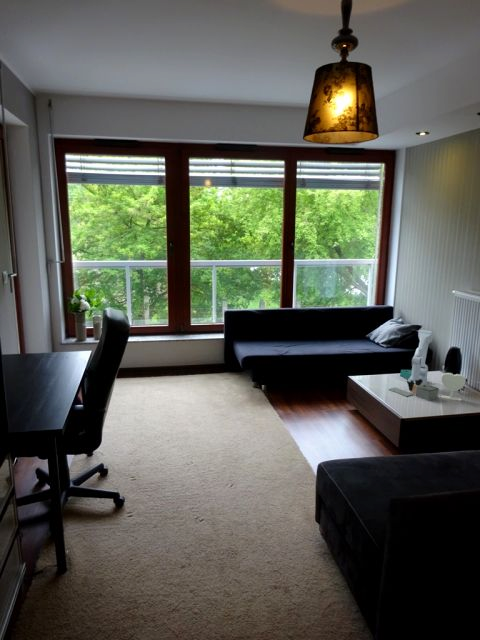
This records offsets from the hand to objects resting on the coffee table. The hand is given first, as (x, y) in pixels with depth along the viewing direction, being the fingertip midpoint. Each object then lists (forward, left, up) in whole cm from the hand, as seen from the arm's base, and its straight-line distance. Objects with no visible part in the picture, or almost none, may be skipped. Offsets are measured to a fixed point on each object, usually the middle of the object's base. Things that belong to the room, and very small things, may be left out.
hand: (413, 389), depth 336 cm
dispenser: (0, +11, -2) cm, 11 cm away
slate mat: (+9, -5, -2) cm, 10 cm away
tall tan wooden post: (0, +3, -2) cm, 4 cm away
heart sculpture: (-15, +21, -2) cm, 26 cm away
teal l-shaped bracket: (-27, -20, -2) cm, 33 cm away
